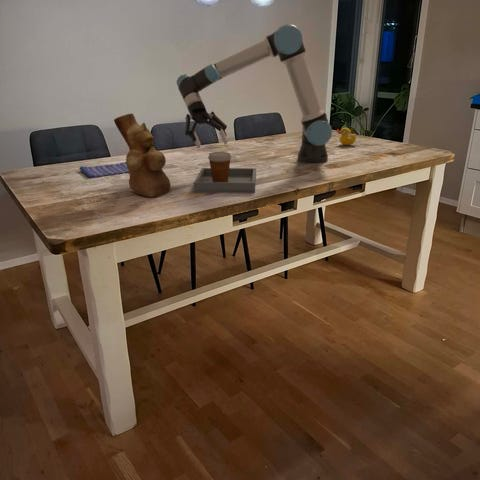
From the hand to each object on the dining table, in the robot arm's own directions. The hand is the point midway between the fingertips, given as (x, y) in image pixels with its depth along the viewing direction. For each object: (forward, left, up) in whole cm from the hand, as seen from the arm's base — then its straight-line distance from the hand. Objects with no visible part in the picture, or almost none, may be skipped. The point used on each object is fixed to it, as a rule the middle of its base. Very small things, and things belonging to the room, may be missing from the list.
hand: (213, 144), depth 200 cm
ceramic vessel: (+25, +26, -14) cm, 38 cm away
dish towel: (+50, -6, -14) cm, 52 cm away
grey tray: (-7, +15, -14) cm, 21 cm away
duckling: (-70, -71, -14) cm, 101 cm away
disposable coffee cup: (-4, +16, -13) cm, 21 cm away
